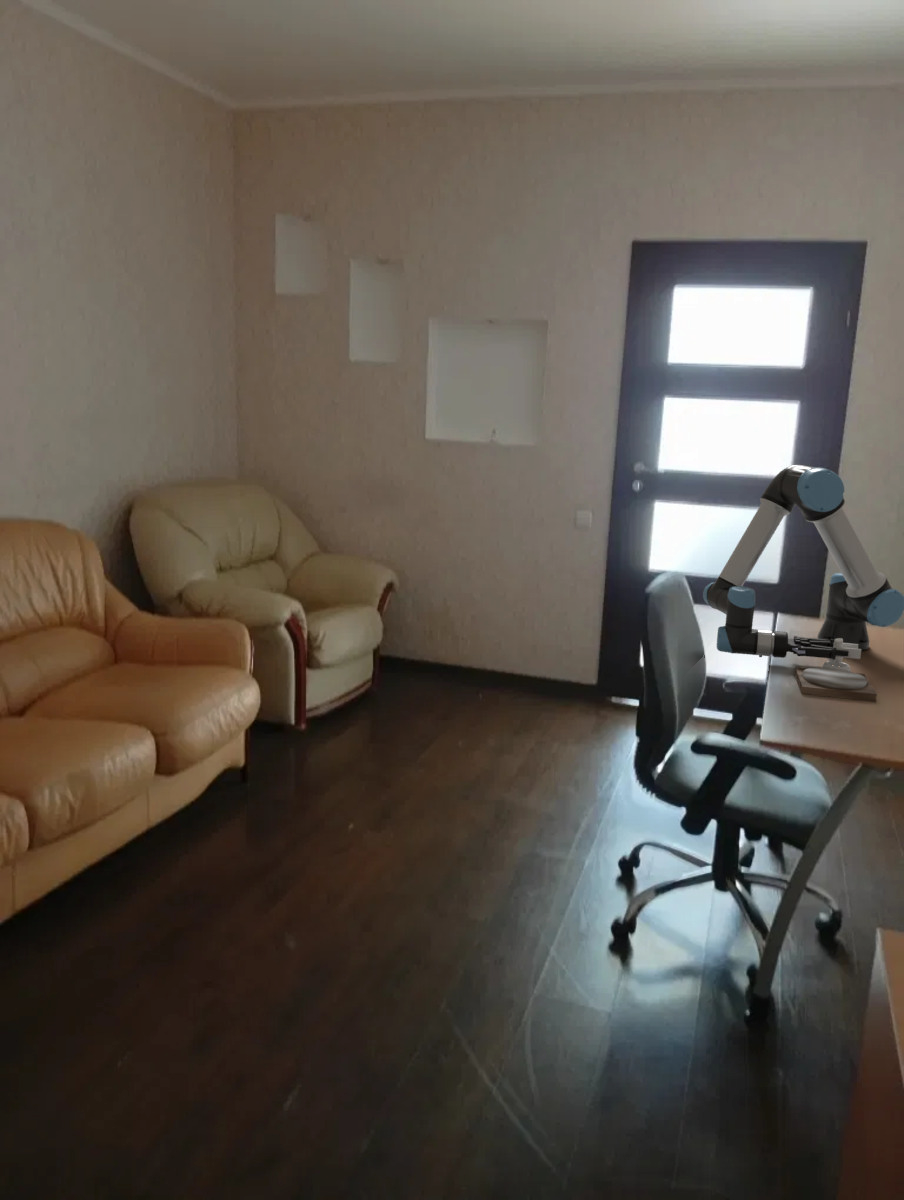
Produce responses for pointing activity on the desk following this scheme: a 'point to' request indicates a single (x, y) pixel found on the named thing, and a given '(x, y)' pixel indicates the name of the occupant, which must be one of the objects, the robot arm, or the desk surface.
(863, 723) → the desk surface
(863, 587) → the robot arm
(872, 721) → the desk surface
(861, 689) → the rosette stand
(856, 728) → the desk surface
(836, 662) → the white vr controller
